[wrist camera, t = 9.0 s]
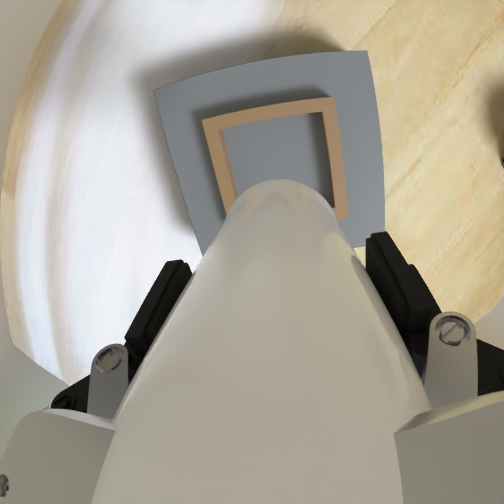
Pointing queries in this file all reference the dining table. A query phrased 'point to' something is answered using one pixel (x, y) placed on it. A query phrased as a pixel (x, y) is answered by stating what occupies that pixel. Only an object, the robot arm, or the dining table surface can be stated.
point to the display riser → (278, 137)
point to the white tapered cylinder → (268, 372)
